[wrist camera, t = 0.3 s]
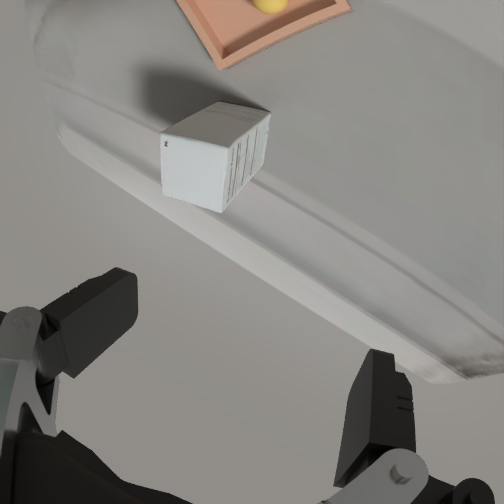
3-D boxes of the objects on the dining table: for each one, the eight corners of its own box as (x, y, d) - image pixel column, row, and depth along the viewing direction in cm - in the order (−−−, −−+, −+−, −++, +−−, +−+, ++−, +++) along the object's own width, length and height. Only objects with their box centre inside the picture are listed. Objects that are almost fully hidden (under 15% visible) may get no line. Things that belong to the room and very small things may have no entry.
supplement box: (213, 151, 42) (159, 195, 33) (218, 99, 37) (157, 130, 28) (265, 165, 41) (221, 216, 32) (274, 112, 36) (227, 147, 27)
